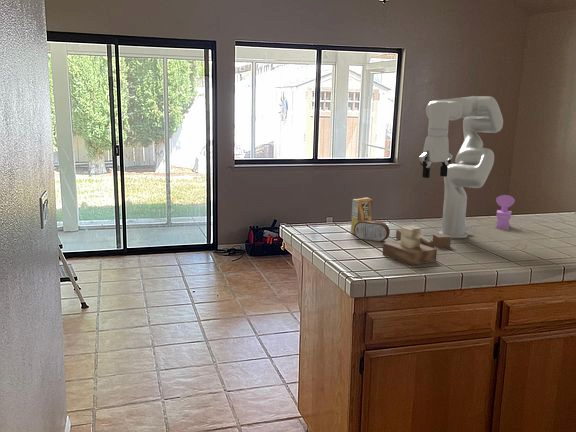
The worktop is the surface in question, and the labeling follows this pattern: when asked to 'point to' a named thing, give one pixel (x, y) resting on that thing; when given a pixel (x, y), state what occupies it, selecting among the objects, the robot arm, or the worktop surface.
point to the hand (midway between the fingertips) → (434, 176)
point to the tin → (371, 230)
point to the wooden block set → (438, 240)
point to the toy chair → (504, 211)
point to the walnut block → (409, 253)
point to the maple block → (410, 236)
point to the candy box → (361, 211)
